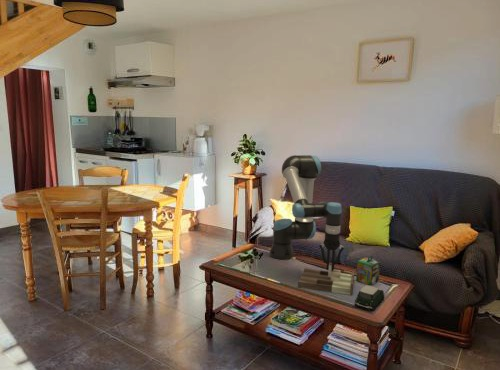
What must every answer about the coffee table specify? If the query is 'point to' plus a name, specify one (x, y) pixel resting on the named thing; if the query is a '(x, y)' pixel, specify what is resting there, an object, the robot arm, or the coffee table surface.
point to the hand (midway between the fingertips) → (329, 275)
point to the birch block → (335, 275)
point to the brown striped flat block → (326, 281)
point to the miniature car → (369, 297)
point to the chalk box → (368, 270)
